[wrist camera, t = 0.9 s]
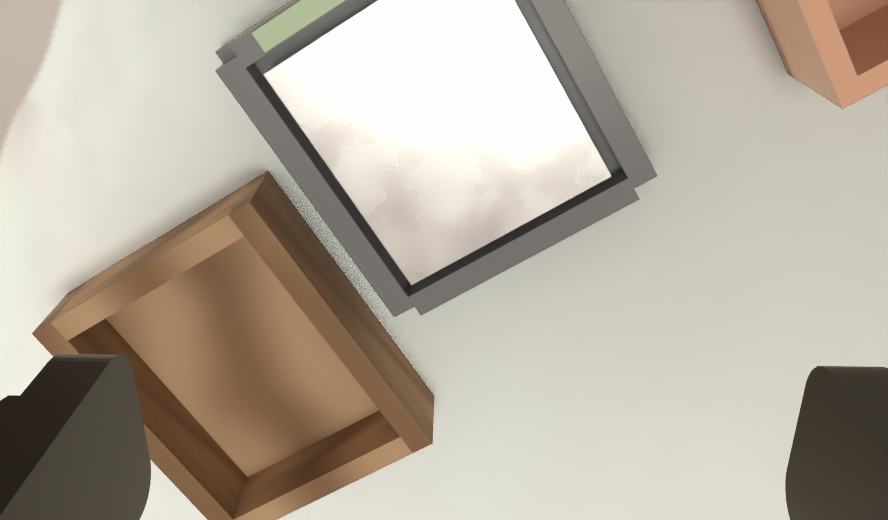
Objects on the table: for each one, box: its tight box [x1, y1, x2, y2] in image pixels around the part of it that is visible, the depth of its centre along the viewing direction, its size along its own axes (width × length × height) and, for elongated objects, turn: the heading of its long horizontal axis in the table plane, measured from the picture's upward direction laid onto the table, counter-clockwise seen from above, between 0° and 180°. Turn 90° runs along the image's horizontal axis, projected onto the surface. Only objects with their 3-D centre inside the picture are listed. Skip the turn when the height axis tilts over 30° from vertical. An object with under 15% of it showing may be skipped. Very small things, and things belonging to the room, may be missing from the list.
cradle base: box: [216, 0, 657, 317], centre depth 32 cm, size 12×13×2 cm
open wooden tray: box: [32, 171, 434, 520], centre depth 37 cm, size 11×13×4 cm
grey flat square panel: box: [264, 0, 611, 285], centre depth 32 cm, size 9×10×1 cm
